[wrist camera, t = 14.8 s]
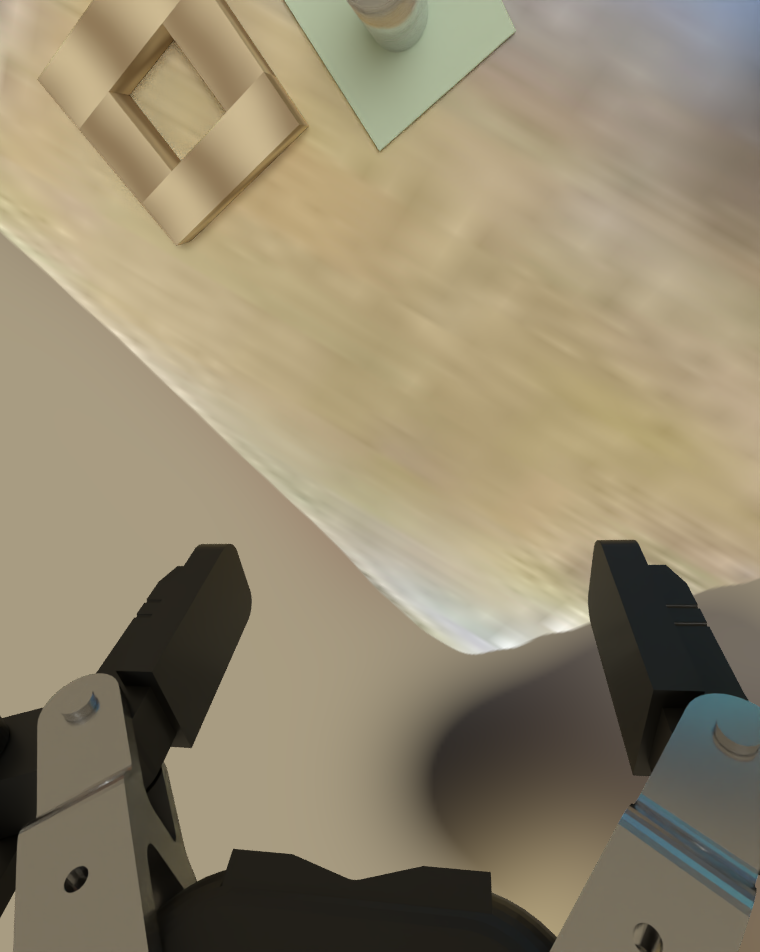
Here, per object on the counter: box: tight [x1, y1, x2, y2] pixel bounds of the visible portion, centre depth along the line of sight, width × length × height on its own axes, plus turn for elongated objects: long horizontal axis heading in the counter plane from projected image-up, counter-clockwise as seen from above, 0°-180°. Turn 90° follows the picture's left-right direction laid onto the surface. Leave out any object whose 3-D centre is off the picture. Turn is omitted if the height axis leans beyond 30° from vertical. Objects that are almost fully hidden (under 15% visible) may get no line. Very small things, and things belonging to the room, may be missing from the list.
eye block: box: [37, 0, 309, 246], centre depth 34 cm, size 12×12×2 cm
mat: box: [285, 0, 516, 151], centre depth 31 cm, size 10×10×1 cm
